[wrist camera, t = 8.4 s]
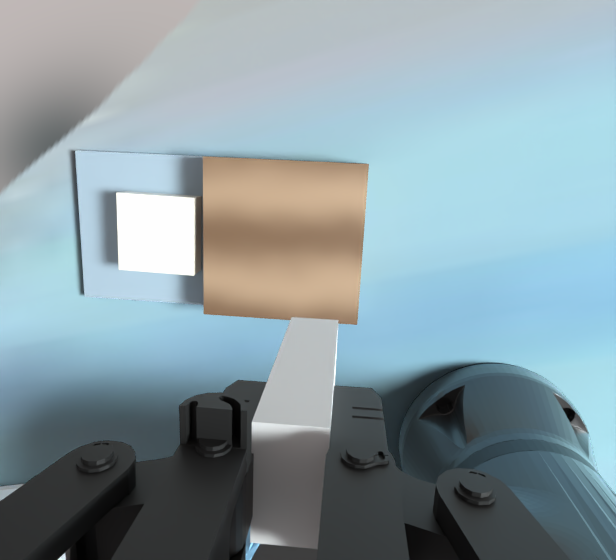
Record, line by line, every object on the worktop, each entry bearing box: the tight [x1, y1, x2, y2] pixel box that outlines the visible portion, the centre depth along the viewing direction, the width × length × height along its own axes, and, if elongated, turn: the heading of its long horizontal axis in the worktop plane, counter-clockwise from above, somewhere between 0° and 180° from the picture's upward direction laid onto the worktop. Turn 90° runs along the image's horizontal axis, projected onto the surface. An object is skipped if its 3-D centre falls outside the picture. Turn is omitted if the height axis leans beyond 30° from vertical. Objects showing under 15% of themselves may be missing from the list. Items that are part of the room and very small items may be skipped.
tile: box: [116, 191, 202, 276], centre depth 39 cm, size 6×6×2 cm
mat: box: [75, 150, 207, 305], centre depth 40 cm, size 12×11×1 cm
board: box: [203, 156, 369, 325], centre depth 38 cm, size 12×12×3 cm
